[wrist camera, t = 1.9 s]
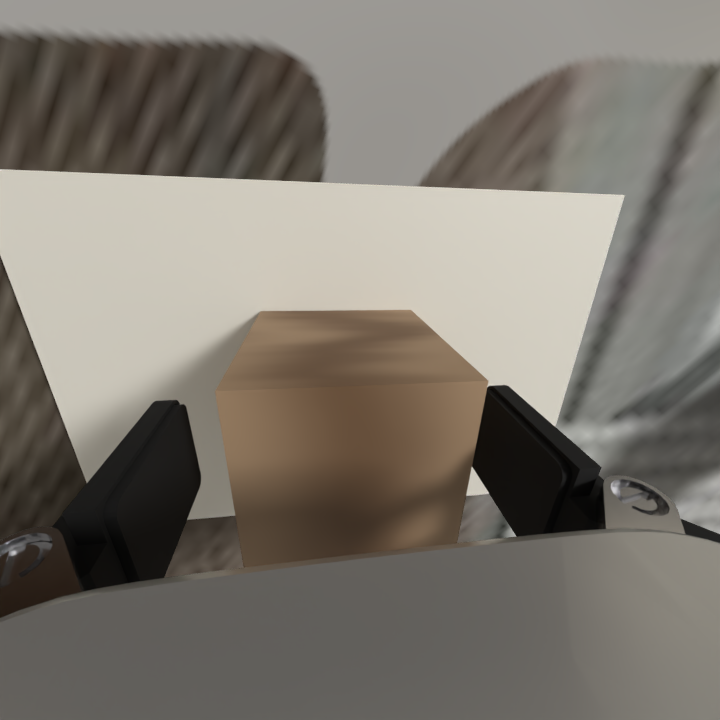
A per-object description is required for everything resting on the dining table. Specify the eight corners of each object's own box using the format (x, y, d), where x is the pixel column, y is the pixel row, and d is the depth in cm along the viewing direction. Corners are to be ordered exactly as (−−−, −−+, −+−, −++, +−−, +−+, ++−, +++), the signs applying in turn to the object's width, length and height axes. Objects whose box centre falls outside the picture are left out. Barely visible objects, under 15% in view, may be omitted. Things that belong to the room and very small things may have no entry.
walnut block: (410, 309, 14) (488, 380, 8) (400, 432, 17) (453, 560, 11) (260, 311, 14) (214, 391, 7) (272, 439, 16) (246, 583, 10)
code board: (612, 196, 14) (625, 195, 14) (530, 482, 21) (536, 490, 20) (-16, 170, 11) (-35, 167, 11) (109, 517, 17) (102, 527, 17)
